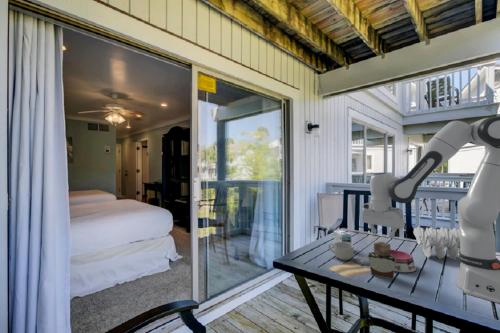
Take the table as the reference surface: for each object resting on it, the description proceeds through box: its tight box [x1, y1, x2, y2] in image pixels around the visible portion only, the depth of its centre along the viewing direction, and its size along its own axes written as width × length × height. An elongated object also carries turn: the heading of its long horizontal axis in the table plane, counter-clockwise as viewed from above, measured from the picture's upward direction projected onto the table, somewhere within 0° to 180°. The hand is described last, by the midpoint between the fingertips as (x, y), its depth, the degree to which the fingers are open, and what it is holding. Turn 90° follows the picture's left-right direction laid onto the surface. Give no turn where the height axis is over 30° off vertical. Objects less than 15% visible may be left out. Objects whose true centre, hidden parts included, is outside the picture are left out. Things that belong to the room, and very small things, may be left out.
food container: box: [367, 251, 397, 280], centre depth 119 cm, size 12×6×10 cm, turn 57°
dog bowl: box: [390, 248, 417, 274], centre depth 129 cm, size 18×19×7 cm
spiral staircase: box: [412, 225, 460, 260], centre depth 139 cm, size 18×18×25 cm
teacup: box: [328, 242, 355, 261], centre depth 142 cm, size 14×11×8 cm
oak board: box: [326, 261, 371, 279], centre depth 126 cm, size 14×18×1 cm
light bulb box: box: [333, 230, 353, 245], centre depth 158 cm, size 11×7×11 cm, turn 9°
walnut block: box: [373, 241, 391, 256], centre depth 119 cm, size 5×5×5 cm
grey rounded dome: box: [355, 256, 370, 266], centre depth 135 cm, size 9×9×1 cm
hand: (382, 234), depth 119 cm, fingers open, 8 cm apart
